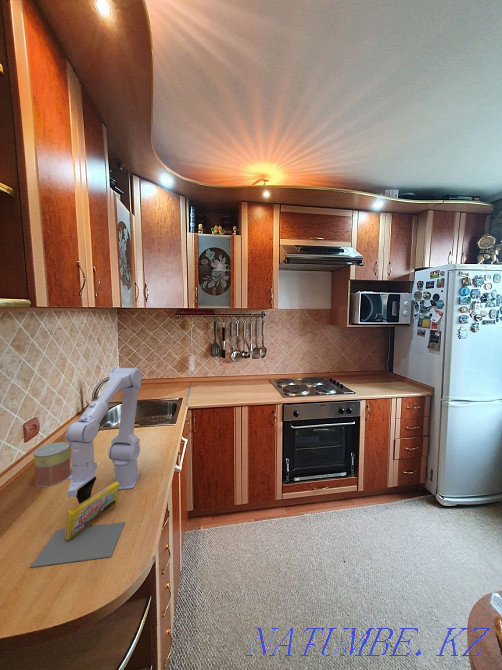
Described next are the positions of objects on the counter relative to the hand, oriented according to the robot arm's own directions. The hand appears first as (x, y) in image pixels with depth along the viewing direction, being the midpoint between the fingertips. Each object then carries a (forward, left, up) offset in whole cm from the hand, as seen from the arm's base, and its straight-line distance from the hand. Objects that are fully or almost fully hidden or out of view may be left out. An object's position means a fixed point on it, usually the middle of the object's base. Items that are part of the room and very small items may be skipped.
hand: (84, 504), depth 81 cm
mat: (+8, +3, -6) cm, 10 cm away
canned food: (-27, -23, -6) cm, 36 cm away
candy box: (0, +2, -6) cm, 6 cm away
